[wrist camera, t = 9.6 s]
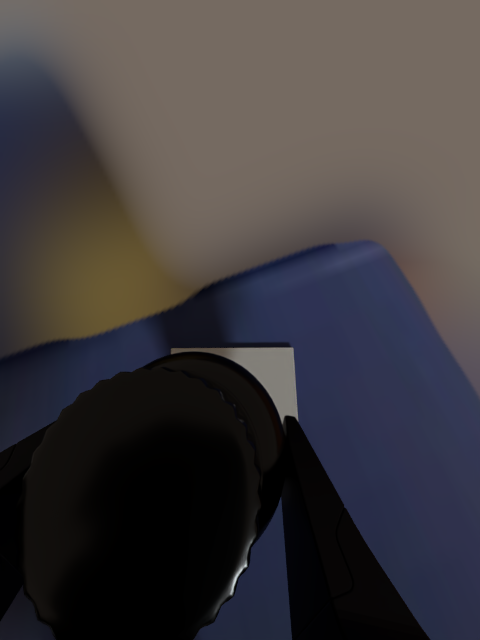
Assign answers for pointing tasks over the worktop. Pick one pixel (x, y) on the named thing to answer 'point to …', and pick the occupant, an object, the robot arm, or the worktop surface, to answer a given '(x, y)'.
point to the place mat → (265, 372)
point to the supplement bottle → (150, 500)
